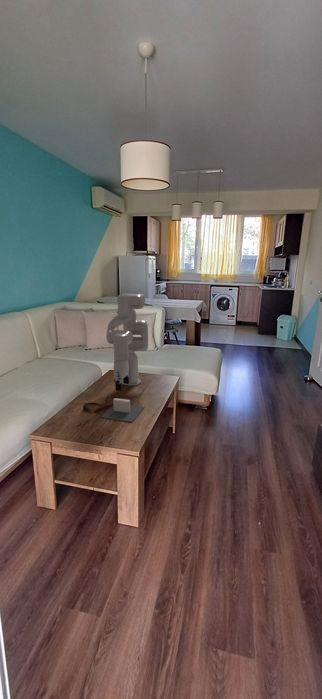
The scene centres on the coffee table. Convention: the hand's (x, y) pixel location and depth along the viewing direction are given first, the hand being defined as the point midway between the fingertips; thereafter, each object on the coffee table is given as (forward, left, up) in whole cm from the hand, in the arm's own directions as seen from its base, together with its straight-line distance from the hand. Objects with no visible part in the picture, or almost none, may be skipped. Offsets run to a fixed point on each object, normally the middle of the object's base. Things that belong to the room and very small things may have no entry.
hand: (122, 386), depth 178 cm
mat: (+3, +1, -14) cm, 14 cm away
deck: (+2, 0, -13) cm, 14 cm away
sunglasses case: (-1, -14, -15) cm, 21 cm away
